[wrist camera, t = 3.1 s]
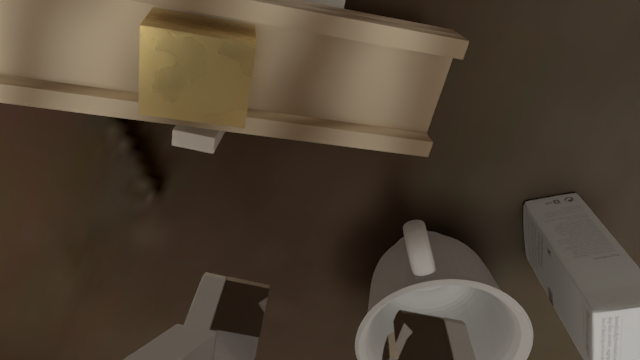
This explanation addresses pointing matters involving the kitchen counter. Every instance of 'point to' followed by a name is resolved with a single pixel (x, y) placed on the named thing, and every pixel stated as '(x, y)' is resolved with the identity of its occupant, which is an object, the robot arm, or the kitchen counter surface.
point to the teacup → (442, 296)
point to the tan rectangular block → (195, 68)
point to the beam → (268, 71)
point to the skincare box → (584, 276)
